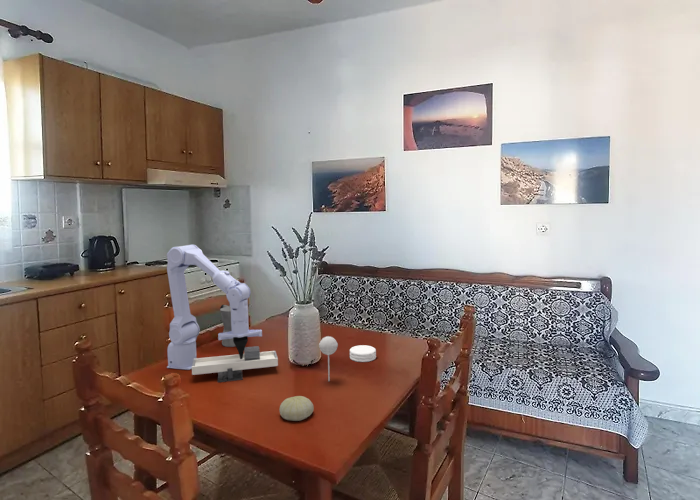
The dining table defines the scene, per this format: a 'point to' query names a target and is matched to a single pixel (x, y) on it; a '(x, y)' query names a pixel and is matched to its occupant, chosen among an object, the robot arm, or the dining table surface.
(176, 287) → the robot arm
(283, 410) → the sea urchin shell
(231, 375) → the stand
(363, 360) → the coaster
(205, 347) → the dining table surface
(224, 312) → the coffeepot
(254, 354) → the grey block
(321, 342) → the lollipop
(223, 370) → the beam
